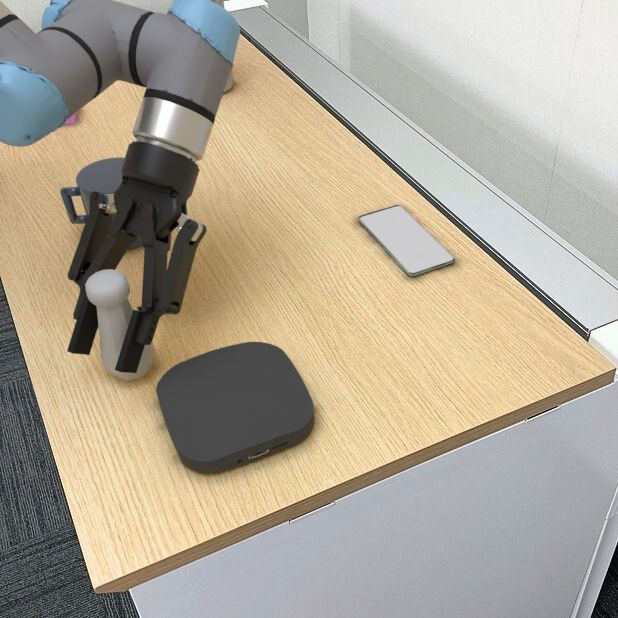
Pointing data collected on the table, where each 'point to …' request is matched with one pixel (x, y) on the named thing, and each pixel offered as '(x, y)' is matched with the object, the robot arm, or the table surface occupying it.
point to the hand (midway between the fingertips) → (101, 361)
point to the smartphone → (406, 240)
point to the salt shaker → (115, 320)
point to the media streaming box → (234, 406)
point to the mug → (94, 188)
